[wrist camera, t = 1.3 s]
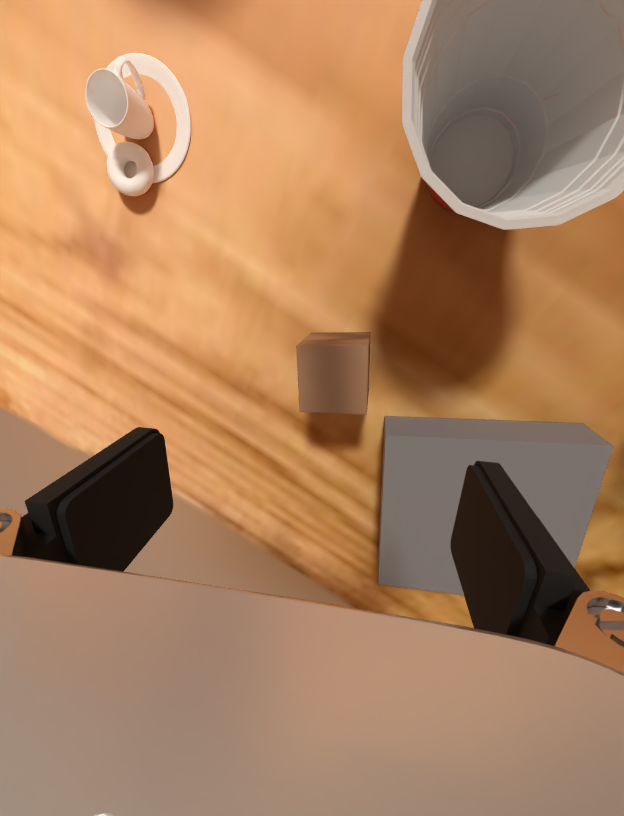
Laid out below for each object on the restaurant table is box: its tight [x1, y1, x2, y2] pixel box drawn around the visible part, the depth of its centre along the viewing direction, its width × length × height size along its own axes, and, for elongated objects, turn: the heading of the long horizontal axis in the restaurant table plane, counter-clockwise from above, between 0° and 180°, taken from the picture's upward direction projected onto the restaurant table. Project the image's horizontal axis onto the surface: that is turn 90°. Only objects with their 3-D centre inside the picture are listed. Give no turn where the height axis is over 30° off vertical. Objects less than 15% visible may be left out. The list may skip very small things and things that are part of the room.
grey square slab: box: [378, 416, 613, 595], centre depth 31 cm, size 16×16×4 cm
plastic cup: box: [402, 0, 624, 230], centre depth 18 cm, size 11×11×12 cm
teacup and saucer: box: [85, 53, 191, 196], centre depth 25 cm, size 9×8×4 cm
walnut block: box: [296, 332, 370, 415], centre depth 27 cm, size 5×5×6 cm
